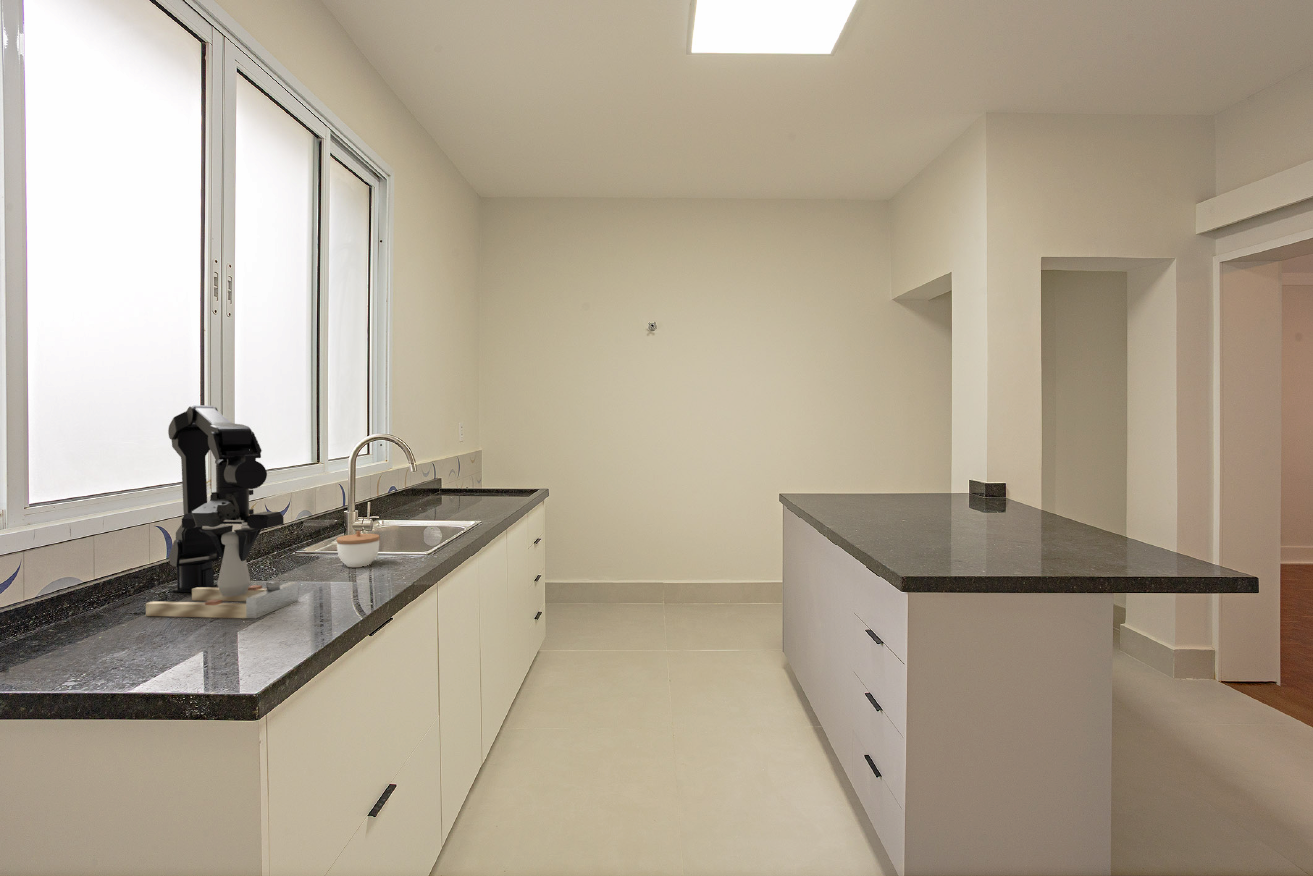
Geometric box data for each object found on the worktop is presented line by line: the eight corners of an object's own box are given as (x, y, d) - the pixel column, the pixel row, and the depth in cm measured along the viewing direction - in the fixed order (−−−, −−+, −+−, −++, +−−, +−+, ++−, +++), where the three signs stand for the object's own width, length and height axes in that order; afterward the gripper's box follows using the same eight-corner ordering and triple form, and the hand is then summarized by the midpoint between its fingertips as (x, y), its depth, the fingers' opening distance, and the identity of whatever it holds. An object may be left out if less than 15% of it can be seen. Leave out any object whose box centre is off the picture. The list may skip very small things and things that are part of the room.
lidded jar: (337, 571, 169) (336, 535, 169) (336, 563, 178) (336, 529, 178) (381, 566, 174) (381, 532, 174) (378, 559, 183) (378, 526, 183)
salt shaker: (234, 598, 131) (233, 535, 131) (210, 597, 132) (209, 534, 132) (257, 591, 137) (256, 530, 137) (234, 590, 138) (233, 529, 138)
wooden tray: (144, 616, 129) (144, 588, 129) (198, 598, 143) (197, 573, 142) (256, 618, 127) (255, 590, 127) (299, 600, 141) (299, 574, 140)
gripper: (157, 489, 127) (159, 568, 127) (246, 490, 125) (248, 570, 126) (202, 484, 138) (203, 557, 138) (284, 485, 136) (285, 558, 137)
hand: (233, 560), depth 134 cm, fingers closed on salt shaker, 4 cm apart
